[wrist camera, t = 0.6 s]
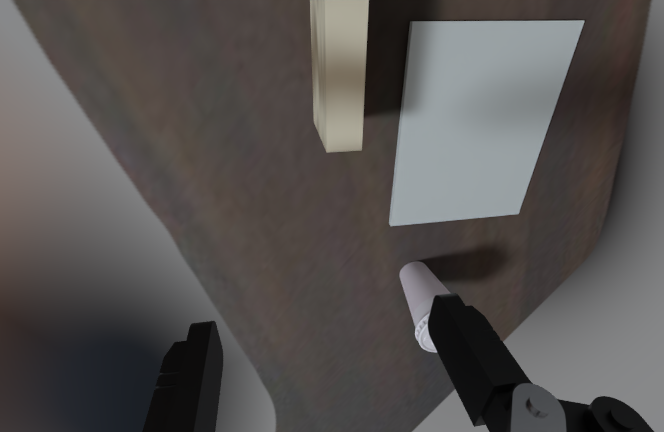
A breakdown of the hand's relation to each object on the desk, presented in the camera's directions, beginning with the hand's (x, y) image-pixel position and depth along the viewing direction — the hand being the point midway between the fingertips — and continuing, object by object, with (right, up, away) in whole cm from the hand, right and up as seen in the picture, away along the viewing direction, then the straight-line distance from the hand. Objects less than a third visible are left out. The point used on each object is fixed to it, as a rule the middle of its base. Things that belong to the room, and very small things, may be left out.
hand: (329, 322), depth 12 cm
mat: (+15, +12, +22) cm, 29 cm away
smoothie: (+11, -3, +31) cm, 33 cm away
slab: (0, +17, +16) cm, 23 cm away
